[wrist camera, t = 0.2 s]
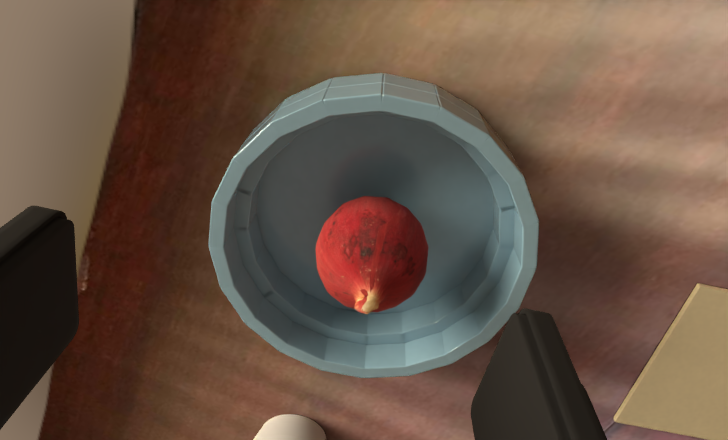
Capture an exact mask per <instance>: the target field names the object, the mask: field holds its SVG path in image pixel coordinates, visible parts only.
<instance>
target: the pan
mask: <svg viewBox="0 0 728 440" xmlns="http://www.w3.org/2000/svg"><path fill="white" fill-rule="evenodd" d="M362 196H374V197H388V198H390V199H391V200H393V201H395V202H397V203H399V204H401V205H403V206H405V207H407V208H408V209H409V210H410V211H411V213H412V214H413V215H414V216H415V217H416V218H417V220H418V221H419V222H420V223H421V225H422V228H423V230H424V234H425V237H426V240H427V244H428V247H429V248H428V258H427V268H426V274H425V276H424V278H423V280H422V282H421V283H420V285H419V287H418V288H417V290H416V291H415V293H414V294H413V295H412V296H411V297H410V298H408V299H407V300H405V301H404V302H402V303H401V304H399V305H397V306H396V307H394V308H390V309H387V310H384V311H380V312H370V313H368V314H364V313H360V312H358V311H357V310H355V309H352V308H349V307H346V306H344V305H343V304H341V303H340V302H339V301H337V300H336V299H335V298H333V297H332V296H331V295H330V294H329V293H328V292H327V291H326V288H325V286H324V284H323V282H322V280H321V278H320V276H319V273H318V270H317V262H316V250H315V249H316V243H317V239H318V237H319V234H320V232H321V229H322V227H323V225H324V223H325V222H326V220H327V219H328V218H329V217H330V216H331V215H332V214H333V213H334V212H335V211H336V210H337V209H338V208H339V207H340V206H341V205H342V204H343V203H345V202H348V201H351V200H354V199H356V198H359V197H362ZM538 237H539V219H538V216H537V214H536V211H535V208H534V205H533V202H532V199H531V196H530V193H529V190H528V187H527V184H526V181H525V178H524V176H523V174H522V172H521V170H520V169H519V167H518V165H517V163H516V161H515V160H514V158H513V156H512V154H511V152H510V150H509V148H508V147H507V145H506V144H505V143H504V141H503V140H502V139H501V138H500V136H499V135H498V134H497V133H496V132H495V130H494V129H493V128H492V127H491V126H490V124H489V123H488V122H487V121H486V119H485V118H484V117H483V116H482V115H481V113H480V112H479V111H478V110H477V109H475V108H474V107H472V106H470V105H469V104H467V103H465V102H464V101H462V100H460V99H459V98H457V97H455V96H454V95H452V94H450V93H449V92H447V91H445V90H444V89H442V88H441V87H439V86H437V85H434V84H432V83H428V82H423V81H419V80H414V79H410V78H405V77H401V76H396V75H392V74H387V73H384V74H383V73H375V74H365V75H355V76H345V77H335V78H330V79H328V80H326V81H323V82H321V83H319V84H317V85H315V86H312V87H310V88H308V89H306V90H304V91H301V92H299V93H297V94H295V95H292V96H290V97H288V98H287V99H285V100H284V101H283V102H282V103H281V104H280V105H279V106H278V107H277V108H276V109H275V110H274V111H272V112H271V113H270V114H269V115H268V116H267V117H266V118H265V119H264V120H263V121H262V122H261V123H260V124H259V125H258V126H257V127H256V128H255V129H254V130H253V131H252V132H251V134H250V135H249V136H248V138H247V139H246V141H245V142H244V143H243V145H242V146H241V148H240V149H239V150H238V152H237V153H236V155H235V156H234V157H233V159H232V160H231V163H230V165H229V167H228V169H227V171H226V173H225V175H224V177H223V179H222V181H221V183H220V185H219V187H218V190H217V192H216V194H215V196H214V198H213V200H212V205H211V218H210V231H209V244H208V245H209V250H210V253H211V257H212V260H213V264H214V267H215V271H216V274H217V277H218V281H219V284H220V287H221V289H222V291H223V292H224V294H225V295H226V297H227V298H228V300H229V301H230V302H231V304H232V305H233V307H234V308H235V310H236V311H237V313H238V314H239V316H240V317H241V318H242V320H243V321H244V323H246V325H247V326H248V327H250V328H251V329H252V330H253V331H255V332H256V333H257V334H258V335H259V336H261V337H262V338H263V339H264V340H266V341H267V342H268V343H269V344H271V345H272V346H273V347H274V348H276V349H277V350H278V351H280V352H281V353H284V354H286V355H288V356H290V357H292V358H295V359H297V360H299V361H301V362H303V363H306V364H308V365H310V366H312V367H315V368H317V369H320V370H322V371H328V372H333V373H338V374H343V375H349V376H354V377H359V378H378V377H400V376H408V375H409V376H411V375H415V374H418V373H422V372H425V371H428V370H432V369H435V368H439V367H442V366H445V365H449V364H451V363H454V362H456V361H457V360H459V359H461V358H462V357H464V356H466V355H467V354H469V353H471V352H472V351H474V350H475V349H477V348H479V347H480V346H482V345H484V344H485V343H487V342H489V340H491V339H492V338H493V336H494V335H495V334H496V333H497V332H498V331H499V330H500V329H501V328H502V327H503V326H504V324H505V323H506V322H507V321H508V320H509V318H510V316H511V315H512V314H513V313H515V312H516V311H517V310H518V309H519V307H520V305H521V303H522V300H523V298H524V296H525V294H526V291H527V289H528V287H529V284H530V282H531V280H532V278H533V275H534V273H535V271H536V267H537V257H538Z"/></svg>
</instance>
